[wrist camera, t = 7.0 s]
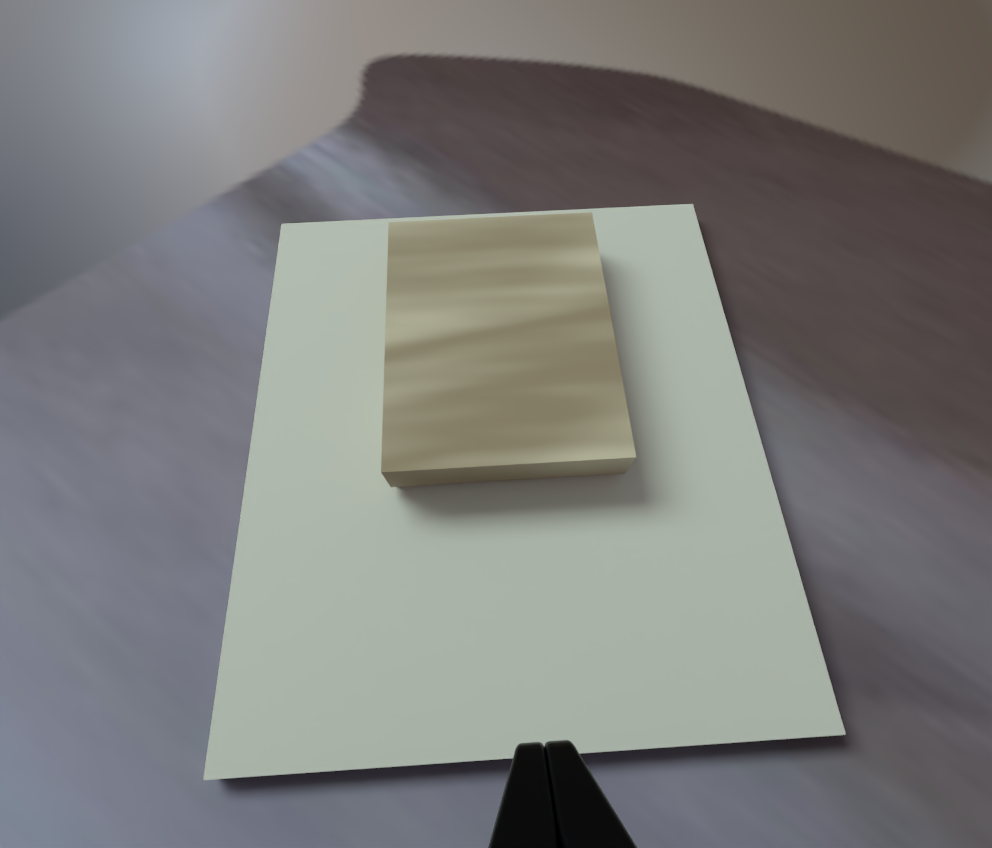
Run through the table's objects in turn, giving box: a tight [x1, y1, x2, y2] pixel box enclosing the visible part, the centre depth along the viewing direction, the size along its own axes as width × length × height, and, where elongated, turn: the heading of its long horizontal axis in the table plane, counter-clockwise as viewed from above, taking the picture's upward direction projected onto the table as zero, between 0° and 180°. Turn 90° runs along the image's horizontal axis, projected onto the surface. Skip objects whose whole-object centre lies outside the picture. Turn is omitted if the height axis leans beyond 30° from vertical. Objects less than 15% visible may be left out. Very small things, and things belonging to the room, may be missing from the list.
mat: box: [203, 204, 846, 780], centre depth 17 cm, size 18×16×1 cm
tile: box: [381, 212, 636, 487], centre depth 17 cm, size 2×7×9 cm
